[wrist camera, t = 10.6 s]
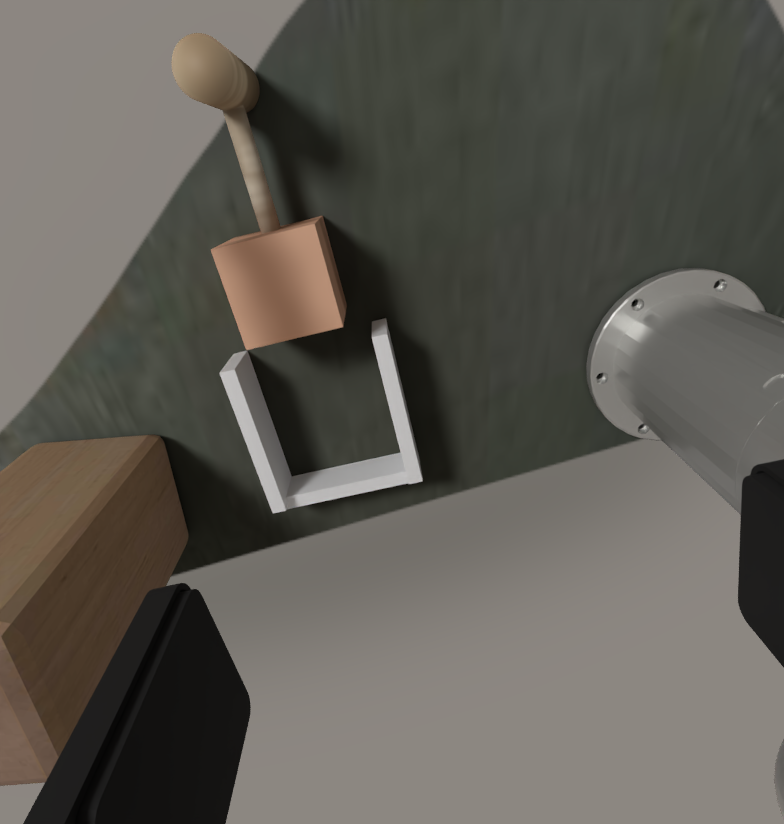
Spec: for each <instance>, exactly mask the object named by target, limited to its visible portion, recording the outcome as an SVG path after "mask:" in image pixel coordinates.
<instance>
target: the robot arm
mask: <svg viewBox="0 0 784 824" xmlns="http://www.w3.org/2000/svg"><path fill="white" fill-rule="evenodd" d="M715 283H716V284H715ZM714 284H715V285H714ZM634 300H636V301H635V303H634V304H633V305H632V302H633V301H634ZM586 368H587V382H588V386H589V390H590V394H591V396H592V398H593V400H594V402H595V404H596V406H597V407H598V409H599V410H600V411H601V412H602V413H603V415H604V416H605V417H606V418H607V419H608V420H609V421H610V422H611V423H612V424H613V425H615V426H616V427H617V428H619V429H621V430H622V431H624V432H626V433H628V434H630V435H633V436H635V437H638V438H642V439H650V440H662V441H663V442H664V443H665V444H666V445H667V446H668V447H669V448H670V449H671V450H673V451H674V452H675V453H676V454H677V455H678V456H679V457H680V458H681V459H682V460H683V461H684V462H685V463H686V464H687V465H689V466H690V467H691V468H692V469H693V470H694V471H695V472H696V473H697V474H698V475H699V476H700V477H701V478H702V479H703V480H704V481H706V482H707V483H708V484H709V485H710V486H711V487H712V488H713V489H714V490H715V491H716V492H717V493H718V494H719V495H720V496H722V498H723V499H725V500H726V501H727V502H728V503H729V504H730V505H731V506H732V507H733V508H734V509H735V510H736V511H737V512H738V513H739V514H740V515H741V529H740V557H739V586H738V603H739V607H740V610H741V613H742V615H743V617H744V619H745V620H746V622H747V623H748V624H749V626H750V627H751V628H752V629H753V631H754V632H755V633H756V634H757V635H758V637H759V638H760V639H761V640H762V641H763V643H764V644H765V645H766V646H767V648H768V649H769V650H770V651H771V652H772V654H773V655H774V656H775V657H776V659H777V660H778V661H779V662H780V663H781V665H782V666H783V667H784V319H783V318H780V317H778V316H775V315H772V314H769V313H767V312H765V309H764V306H763V305H762V303H761V301H760V300H759V298H758V297H757V295H756V294H755V293H754V292H753V291H752V290H751V289H750V288H749V287H748V286H747V285H746V284H744V283H743V282H741V281H739V280H738V279H736V278H734V277H732V276H730V275H727V274H724V273H721V272H718V271H715V270H709V269H703V268H683V269H677V270H673V271H668V272H664V273H661V274H659V275H656V276H654V277H652V278H649V279H647V280H645V281H643V282H642V283H640V284H639V285H637V286H635V287H634V288H632V289H631V290H629V291H628V292H627V293H626V294H625V295H624V296H623V297H621V298H620V299H619V300H618V301H617V302H616V303H615V304H614V305H613V306H612V308H611V309H610V310H609V311H608V312H607V314H606V315H605V316H604V317H603V319H602V321H601V323H600V324H599V326H598V328H597V330H596V331H595V333H594V336H593V339H592V342H591V345H590V347H589V352H588V358H587V364H586ZM600 373H601V374H600ZM598 374H600V376H598V377H597V375H598ZM249 718H250V699H249V695H248V692H247V690H246V688H245V686H244V684H243V681H242V680H241V677H240V675H239V673H238V671H237V669H236V667H235V665H234V663H233V660H232V658H231V656H230V654H229V652H228V650H227V648H226V646H225V643H224V641H223V639H222V637H221V635H220V633H219V631H218V629H217V627H216V624H215V622H214V620H213V618H212V616H211V614H210V612H209V610H208V608H207V605H206V603H205V601H204V599H203V597H202V595H201V594H200V592H199V591H198V590H197V589H193V590H191V589H190V587H189V586H188V585H187V584H185V583H180V584H175V585H170V586H165V587H160V588H156V589H152V590H150V591H149V592H148V593H147V594H146V596H145V598H144V599H143V601H142V603H141V605H140V607H139V609H138V611H137V613H136V614H135V616H134V618H133V620H132V622H131V624H130V626H129V627H128V629H127V631H126V633H125V635H124V637H123V639H122V640H121V642H120V644H119V646H118V648H117V650H116V652H115V654H114V655H113V657H112V659H111V661H110V663H109V665H108V667H107V668H106V670H105V672H104V674H103V676H102V678H101V680H100V682H99V683H98V685H97V687H96V689H95V691H94V693H93V695H92V696H91V698H90V700H89V702H88V704H87V706H86V708H85V709H84V711H83V713H82V715H81V717H80V719H79V721H78V723H77V724H76V726H75V728H74V730H73V732H72V734H71V736H70V737H69V739H68V741H67V743H66V745H65V747H64V749H63V751H62V752H61V754H60V756H59V758H58V760H57V762H56V764H55V765H54V767H53V769H52V771H51V773H50V775H49V777H48V778H47V780H46V782H45V784H44V786H43V788H42V790H41V792H40V793H39V795H38V797H37V799H36V801H35V803H34V805H33V806H32V808H31V811H30V812H29V814H28V816H27V818H26V820H25V821H24V823H23V824H225V823H226V819H227V814H228V810H229V806H230V801H231V797H232V792H233V788H234V784H235V779H236V775H237V771H238V766H239V762H240V757H241V753H242V749H243V744H244V740H245V735H246V731H247V727H248V722H249ZM774 783H775V789H776V795H777V800H778V804H779V807H780V811H781V814H782V816H783V818H784V740H783V742H782V744H781V746H780V748H779V752H778V755H777V759H776V763H775V779H774Z"/></svg>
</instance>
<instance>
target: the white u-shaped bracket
mask: <svg viewBox="0 0 784 824" xmlns="http://www.w3.org/2000/svg"><path fill="white" fill-rule="evenodd" d="M372 341H373V345H374V349H375V353H376V357H377V361H378V364H379V368H380V372H381V376H382V380H383V384H384V388H385V392H386V396H387V400H388V404H389V408H390V412H391V416H392V420H393V424H394V428H395V432H396V436H397V440H398V443H399V447H400V451H401V453H397V454H392V455H387V456H383V457H378V458H374V459H369V460H364V461H360V462H355V463H351V464H346V465H342V466H337V467H332V468H328V469H323V470H319V471H314V472H309V473H305V474H300V475H296V476H291V473H290V470H289V467H288V465H287V462H286V459H285V456H284V453H283V450H282V447H281V445H280V442H279V439H278V436H277V433H276V430H275V428H274V425H273V422H272V419H271V416H270V413H269V410H268V408H267V405H266V402H265V399H264V396H263V393H262V391H261V388H260V385H259V382H258V379H257V376H256V373H255V371H254V368H253V365H252V362H251V359H250V356H249V354H248V351H243V352H239V353H235V354H233V355H232V357H231V358H230V359H229V361H228V362H227V363H226V365H225V366H224V367H223V369H222V370H221V371H220V376H221V378H222V381H223V384H224V386H225V389H226V392H227V394H228V397H229V399H230V402H231V405H232V407H233V410H234V413H235V415H236V418H237V421H238V423H239V426H240V428H241V431H242V434H243V436H244V439H245V442H246V444H247V447H248V450H249V452H250V455H251V457H252V460H253V463H254V465H255V468H256V471H257V473H258V476H259V478H260V481H261V484H262V486H263V489H264V492H265V494H266V497H267V500H268V502H269V505H270V507H271V510H272V513H278V512H282V511H286V510H287V509H290V508H295V507H300V506H304V505H309V504H314V503H318V502H323V501H328V500H332V499H337V498H342V497H346V496H351V495H356V494H360V493H365V492H370V491H374V490H379V489H384V488H388V487H393V486H398V485H402V484H407V483H409V484H413V483H418V482H422V481H423V477H422V471H421V465H420V459H419V455H418V451H417V446H416V442H415V438H414V434H413V430H412V425H411V421H410V417H409V413H408V409H407V405H406V400H405V396H404V392H403V388H402V384H401V379H400V375H399V371H398V367H397V363H396V358H395V354H394V350H393V346H392V342H391V338H390V333H389V329H388V325H387V321H386V318H384V319H380V320H376V321H372Z"/></svg>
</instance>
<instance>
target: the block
mask: <svg viewBox="0 0 784 824" xmlns="http://www.w3.org/2000/svg"><path fill="white" fill-rule="evenodd" d="M172 70H173V75H174V78H175V80H176V82H177V84H178V86H179V87H180V88H181V90H182V91H183V92H184V93H185V94H186V95H188V96H189V97H190V98H192V99H194V100H196V101H199V102H202V103H204V104H207V105H210V106H213V107H215V108H218V109H220V110H223V113H224V116H225V119H226V122H227V126H228V129H229V132H230V135H231V138H232V141H233V145H234V148H235V151H236V154H237V157H238V160H239V164H240V167H241V170H242V173H243V176H244V179H245V183H246V186H247V189H248V192H249V195H250V198H251V202H252V205H253V208H254V211H255V214H256V217H257V221H258V224H259V227H260V230H261V231H260V232H256V233H252V234H248V235H244V236H240V237H236V238H233V239H231V240H229V241H227V242H225V243H223V244H221V245H219V246H217V247H215V248H213V249H211V252H212V255H213V258H214V260H215V263H216V266H217V269H218V272H219V274H220V277H221V280H222V283H223V286H224V288H225V291H226V294H227V297H228V300H229V302H230V305H231V308H232V311H233V314H234V316H235V319H236V322H237V325H238V328H239V331H240V333H241V336H242V339H243V342H244V345H245V347H246V350H249V349H253V348H257V347H262V346H266V345H270V344H274V343H278V342H283V341H287V340H291V339H295V338H299V337H304V336H308V335H312V334H316V333H320V332H325V331H329V330H333V329H337V328H342V327H343V325H344V319H345V314H346V308H347V304H346V300H345V297H344V293H343V289H342V286H341V282H340V278H339V274H338V271H337V267H336V263H335V260H334V256H333V252H332V248H331V245H330V241H329V237H328V233H327V230H326V226H325V222H324V219H323V216H319V217H315V218H311V219H307V220H303V221H299V222H295V223H291V224H287V225H284V226H280V224H279V220H278V217H277V214H276V210H275V207H274V204H273V200H272V197H271V194H270V190H269V187H268V184H267V180H266V177H265V174H264V171H263V167H262V164H261V161H260V157H259V154H258V151H257V147H256V144H255V141H254V137H253V134H252V131H251V127H250V124H249V121H248V117H247V114H246V113H247V112H249V111H251V110H252V109H253V108H254V107H255V105H256V103H257V101H258V99H259V94H260V87H259V82H258V79H257V77H256V75H255V73H254V71H253V70H252V69H251V68H250V67H249V66H248V65H246V64H245V63H244V62H243V61H242V60H241V59H239V58H238V57H237V56H236V55H234V54H233V53H232V52H231V51H229V50H228V49H227V48H226V47H224V46H223V45H222V44H221V43H219V42H218V41H217V40H216V39H214V38H213V37H211V36H209V35H206V34H202V33H194V34H190V35H187V36H185V37H184V38H182V39H181V40H180V41H179V42H178V44H177V45H176V47H175V49H174V52H173V55H172Z"/></svg>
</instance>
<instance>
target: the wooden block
mask: <svg viewBox="0 0 784 824" xmlns="http://www.w3.org/2000/svg"><path fill="white" fill-rule="evenodd" d="M188 537H189V535H188V530H187V526H186V522H185V518H184V515H183V511H182V507H181V503H180V500H179V496H178V492H177V488H176V485H175V481H174V477H173V473H172V469H171V466H170V462H169V458H168V454H167V451H166V447H165V443H164V441H163V440H162V438H161V437H160V436H157V435H140V436H127V437H114V438H101V439H88V440H75V441H62V442H49V443H40V444H37V445H35V446H33V447H31V448H29V449H28V450H27V451H26V452H24V453H23V454H22V455H21V456H20V457H18V458H17V459H16V460H15V461H13V462H12V463H11V464H10V465H8V466H7V467H6V468H5V469H4V470H2V471H1V472H0V786H3V785H17V784H30V783H42V782H46V780H47V778H48V777H49V775H50V773H51V771H52V769H53V767H54V765H55V764H56V762H57V760H58V758H59V756H60V754H61V752H62V751H63V749H64V747H65V745H66V743H67V741H68V739H69V737H70V736H71V734H72V732H73V730H74V728H75V726H76V724H77V723H78V721H79V719H80V717H81V715H82V713H83V711H84V709H85V708H86V706H87V704H88V702H89V700H90V698H91V696H92V695H93V693H94V691H95V689H96V687H97V685H98V683H99V682H100V680H101V678H102V676H103V674H104V672H105V670H106V668H107V667H108V665H109V663H110V661H111V659H112V657H113V655H114V654H115V652H116V650H117V648H118V646H119V644H120V642H121V640H122V639H123V637H124V635H125V633H126V631H127V629H128V627H129V626H130V624H131V622H132V620H133V618H134V616H135V614H136V613H137V611H138V609H139V607H140V605H141V603H142V601H143V599H144V598H145V596H146V594H147V593H148V592H149V591H150V590H152V589H156V588H160V587H165V586H166V585H167V583H168V581H169V579H170V577H171V575H172V573H173V571H174V569H175V567H176V565H177V563H178V561H179V559H180V557H181V555H182V553H183V551H184V549H185V546H186V544H187V541H188Z"/></svg>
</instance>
